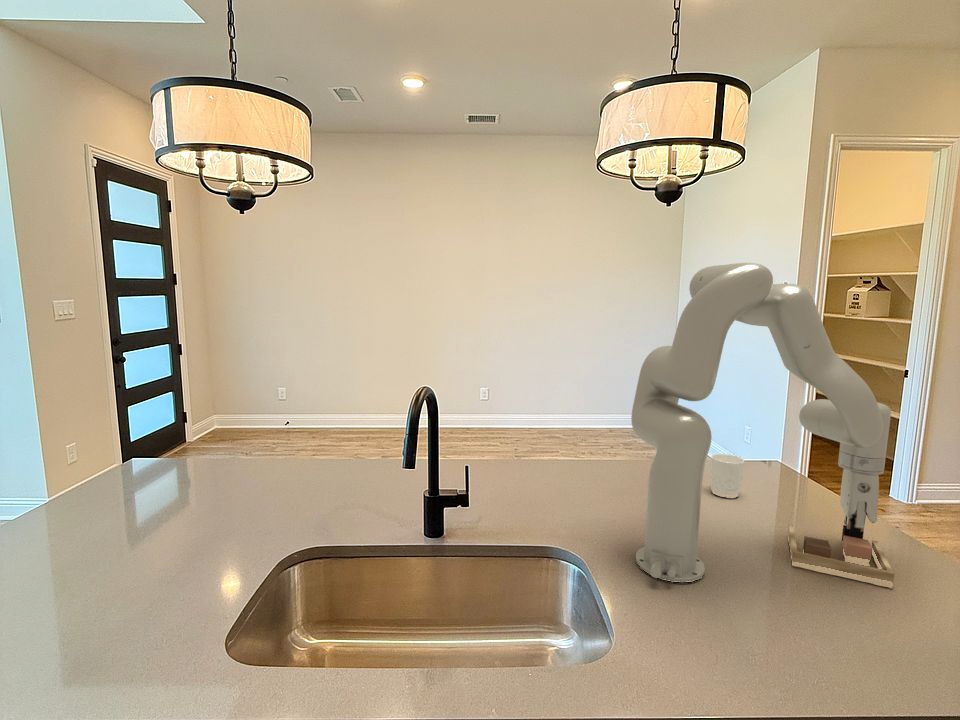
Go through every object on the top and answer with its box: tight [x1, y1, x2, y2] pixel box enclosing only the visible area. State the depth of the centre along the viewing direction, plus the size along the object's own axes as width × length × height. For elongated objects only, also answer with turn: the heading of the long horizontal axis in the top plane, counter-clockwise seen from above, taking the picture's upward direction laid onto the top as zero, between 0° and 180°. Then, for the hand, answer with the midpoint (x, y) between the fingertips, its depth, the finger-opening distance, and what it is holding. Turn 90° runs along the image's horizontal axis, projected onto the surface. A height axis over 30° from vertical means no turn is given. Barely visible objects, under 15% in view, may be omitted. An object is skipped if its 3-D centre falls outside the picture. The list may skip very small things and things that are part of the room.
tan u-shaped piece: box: [787, 523, 895, 583], centre depth 101 cm, size 14×16×3 cm
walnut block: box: [802, 536, 832, 559], centre depth 100 cm, size 4×4×4 cm
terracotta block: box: [841, 536, 872, 560], centre depth 101 cm, size 4×4×4 cm
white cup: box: [710, 453, 745, 495], centre depth 134 cm, size 8×8×10 cm
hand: (851, 546), depth 105 cm, fingers closed
